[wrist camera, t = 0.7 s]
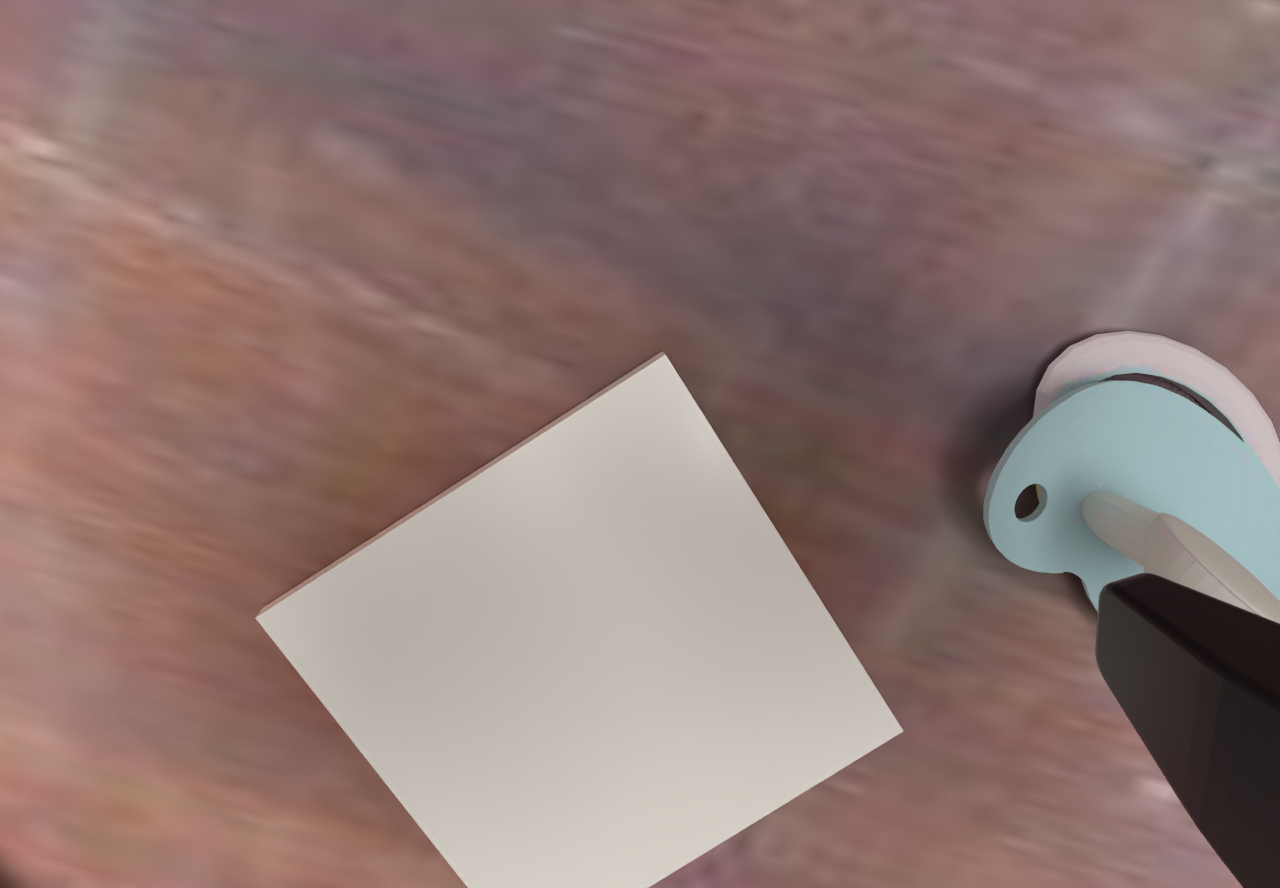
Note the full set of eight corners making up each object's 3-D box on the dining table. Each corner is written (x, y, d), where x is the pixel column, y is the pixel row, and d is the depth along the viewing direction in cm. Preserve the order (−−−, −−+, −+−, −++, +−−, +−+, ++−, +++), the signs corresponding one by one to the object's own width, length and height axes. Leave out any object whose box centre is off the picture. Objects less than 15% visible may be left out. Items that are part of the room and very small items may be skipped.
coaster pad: (894, 718, 24) (903, 731, 23) (527, 944, 24) (526, 962, 24) (662, 351, 22) (665, 354, 21) (263, 607, 22) (255, 618, 21)
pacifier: (1082, 267, 22) (915, 497, 23) (1290, 274, 16) (1054, 587, 17) (1322, 455, 24) (1159, 667, 24) (1599, 526, 17) (1371, 809, 18)
